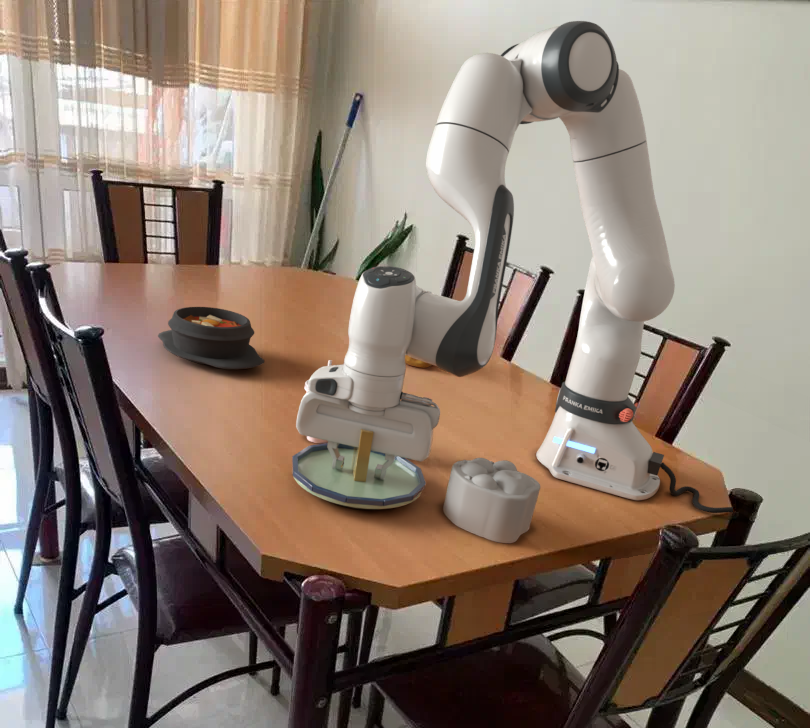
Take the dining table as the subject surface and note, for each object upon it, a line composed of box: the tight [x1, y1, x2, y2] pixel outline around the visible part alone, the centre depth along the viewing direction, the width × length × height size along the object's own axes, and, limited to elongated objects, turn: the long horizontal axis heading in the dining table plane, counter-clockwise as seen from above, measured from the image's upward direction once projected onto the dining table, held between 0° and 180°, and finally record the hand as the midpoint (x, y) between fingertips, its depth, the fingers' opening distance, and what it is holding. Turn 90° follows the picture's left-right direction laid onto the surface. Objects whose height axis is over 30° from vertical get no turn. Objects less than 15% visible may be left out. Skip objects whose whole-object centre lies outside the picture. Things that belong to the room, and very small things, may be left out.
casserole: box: [157, 306, 265, 370], centre depth 163 cm, size 25×19×8 cm
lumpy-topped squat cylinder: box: [442, 457, 541, 544], centre depth 119 cm, size 10×13×9 cm
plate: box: [291, 429, 427, 510], centre depth 120 cm, size 20×20×9 cm
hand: (358, 472), depth 122 cm, fingers open, 5 cm apart
